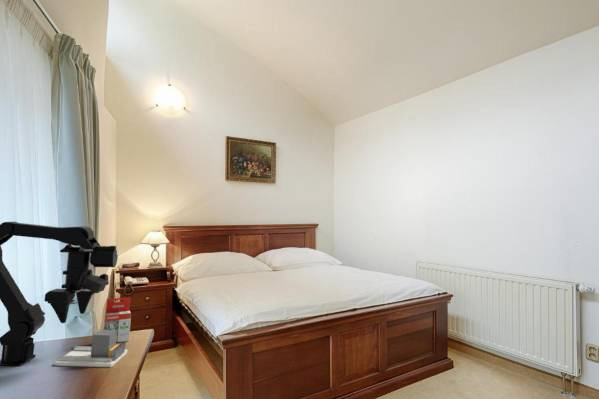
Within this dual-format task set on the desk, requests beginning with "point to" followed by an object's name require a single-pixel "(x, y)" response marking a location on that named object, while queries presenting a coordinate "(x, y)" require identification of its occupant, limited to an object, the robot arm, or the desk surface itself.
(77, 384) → the desk surface
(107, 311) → the ink box
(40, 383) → the desk surface
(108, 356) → the bar
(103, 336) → the block
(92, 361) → the rail plate
